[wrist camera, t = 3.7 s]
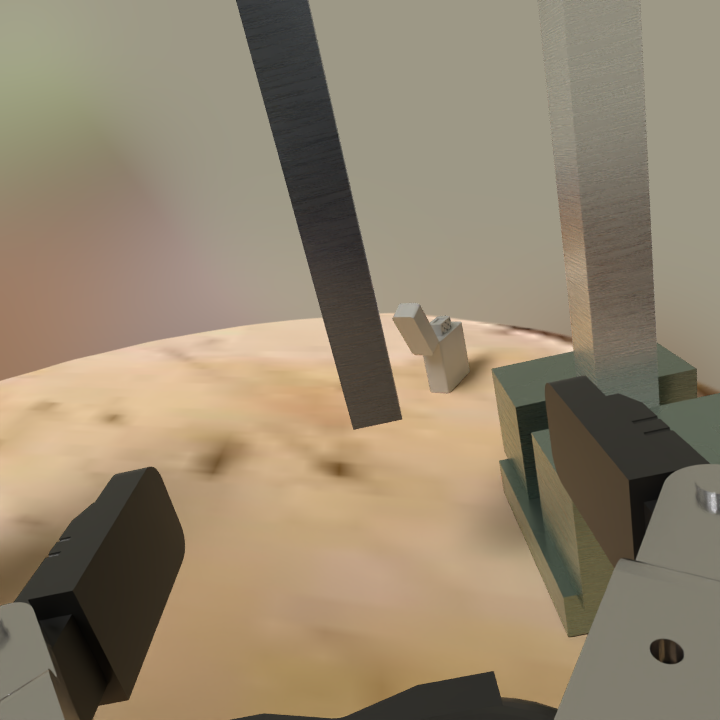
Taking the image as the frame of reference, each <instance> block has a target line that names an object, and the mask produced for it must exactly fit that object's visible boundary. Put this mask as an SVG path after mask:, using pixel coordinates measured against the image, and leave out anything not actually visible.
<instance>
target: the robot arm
mask: <svg viewBox="0 0 720 720" xmlns="http://www.w3.org/2000/svg"><path fill="white" fill-rule="evenodd" d="M545 401H546V409H547V417H548V425H549V433H550V441H551V449H552V456H553V461H554V464H555V468H556V471H557V474H558V476H559V479H560V481H561V483H562V485H563V486H564V488H565V490H566V491H567V493H568V494H569V496H570V498H571V499H572V501H573V503H574V504H575V506H576V507H577V509H578V511H579V512H580V514H581V515H582V517H583V519H584V520H585V522H586V523H587V525H588V527H589V528H590V530H591V532H592V533H593V535H594V536H595V538H596V540H597V541H598V543H599V544H600V546H601V548H602V549H603V551H604V553H605V554H606V556H607V557H608V559H609V561H610V562H611V564H612V565H613V567H614V571H613V574H612V576H611V579H610V581H609V584H608V586H607V588H606V591H605V593H604V596H603V598H602V601H601V603H600V606H599V608H598V611H597V613H596V616H595V618H594V621H593V623H592V626H591V628H590V631H589V633H588V636H587V638H586V641H585V643H584V646H583V648H582V651H581V653H580V656H579V658H578V661H577V663H576V666H575V668H574V671H573V673H572V676H571V678H570V681H569V683H568V686H567V688H566V691H565V693H564V696H563V698H562V701H561V703H560V706H559V708H558V709H556V708H553V707H550V706H547V705H543V704H540V703H537V702H532V701H527V700H522V699H516V698H504V697H501V696H500V693H499V689H498V685H497V682H496V678H495V674H494V671H492V672H486V673H481V674H475V675H470V676H465V677H459V678H454V679H448V680H443V681H438V682H432V683H427V684H421V685H417V686H415V687H412V688H410V689H408V690H405V691H403V692H401V693H399V694H396V695H394V696H392V697H389V698H387V699H385V700H382V701H380V702H378V703H376V704H373V705H371V706H369V707H366V708H364V709H362V710H360V711H357V712H355V713H353V714H350V715H348V716H345V717H342V718H333V719H331V718H318V717H304V716H290V715H277V714H259V715H253V716H248V717H242V718H237V719H232V720H720V465H719V464H710V463H709V462H708V461H707V460H706V459H705V458H704V457H702V456H701V455H700V454H699V453H698V452H697V451H696V450H695V449H693V448H692V447H691V446H690V445H689V444H688V443H687V442H686V441H685V440H683V439H682V438H681V437H680V436H679V435H678V434H677V433H676V432H675V431H673V430H670V427H669V426H668V425H667V424H666V423H665V422H663V421H662V420H661V419H658V417H657V415H656V414H655V413H653V412H652V411H651V410H650V409H649V408H648V407H647V406H646V405H645V404H643V403H642V402H640V401H637V400H635V399H632V398H629V397H627V396H624V395H622V394H619V393H617V394H613V395H608V396H606V395H605V394H604V393H603V392H602V391H601V390H600V389H599V388H598V387H597V386H596V385H595V384H594V383H593V382H592V381H591V380H590V379H589V378H588V377H586V376H585V375H583V376H578V377H573V378H569V379H564V380H559V381H554V382H550V383H546V385H545ZM59 540H60V542H57V543H56V544H55V545H54V547H53V548H52V550H51V551H50V552H49V557H47V558H45V559H44V561H43V562H42V564H41V565H40V566H39V568H38V569H37V571H36V572H35V573H34V575H33V576H32V577H31V579H30V580H29V582H28V583H27V584H26V586H25V587H24V589H23V590H22V591H21V593H20V594H19V596H18V597H17V598H16V600H15V601H14V603H9V604H5V605H2V606H0V720H94V719H93V717H94V715H95V712H96V710H97V708H98V706H100V705H105V704H110V703H116V702H121V701H126V700H129V698H130V695H131V693H132V690H133V688H134V685H135V682H136V680H137V677H138V675H139V672H140V669H141V667H142V664H143V662H144V659H145V657H146V654H147V651H148V649H149V646H150V644H151V641H152V639H153V636H154V633H155V631H156V628H157V626H158V623H159V621H160V618H161V615H162V613H163V610H164V608H165V605H166V602H167V600H168V597H169V595H170V592H171V590H172V587H173V584H174V582H175V579H176V577H177V574H178V572H179V569H180V566H181V564H182V561H183V558H184V553H185V540H184V534H183V530H182V527H181V524H180V522H179V519H178V517H177V514H176V512H175V510H174V507H173V505H172V502H171V500H170V497H169V495H168V492H167V490H166V487H165V485H164V482H163V480H162V478H161V475H160V474H159V472H158V471H157V470H156V469H155V468H154V467H147V468H142V469H138V470H133V471H128V472H124V473H119V474H115V475H114V476H113V477H112V478H111V480H110V481H109V483H108V484H107V486H106V487H105V488H104V490H103V491H102V493H101V494H100V496H99V497H98V499H97V500H96V501H95V503H93V504H91V505H90V506H89V507H88V508H87V509H85V510H84V511H83V512H82V513H81V514H80V515H78V516H77V517H76V518H75V519H74V520H72V522H71V523H70V524H69V526H68V527H67V529H66V530H65V531H64V533H63V534H62V536H61V537H60V538H59Z"/></svg>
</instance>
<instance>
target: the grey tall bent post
mask: <svg viewBox="0 0 720 720" xmlns="http://www.w3.org/2000/svg"><path fill="white" fill-rule="evenodd" d="M538 6H539V16H540V27H541V36H542V46H543V56H544V66H545V75H546V85H547V95H548V105H549V114H550V124H551V134H552V143H553V154H554V163H555V173H556V183H557V193H558V203H559V212H560V222H561V232H562V242H563V252H564V262H565V271H566V281H567V290H568V301H569V310H570V320H571V330H572V340H573V350H574V351H573V352H568V353H563V354H559V355H554V356H549V357H545V358H540V359H535V360H531V361H526V362H522V363H517V364H512V365H508V366H503V367H498V368H494V369H492V375H493V381H494V388H495V394H496V400H497V407H498V413H499V419H500V426H501V432H502V439H503V445H504V451H505V453H506V455H507V457H508V459H505V460H500V461H499V463H500V470H501V476H502V482H503V488H504V493H505V495H506V497H507V499H508V502H509V504H510V506H511V508H512V511H513V513H514V515H515V517H516V520H517V522H518V524H519V526H520V529H521V531H522V533H523V535H524V538H525V540H526V542H527V545H528V547H529V549H530V551H531V554H532V556H533V558H534V560H535V563H536V565H537V567H538V569H539V572H540V574H541V576H542V578H543V581H544V583H545V585H546V587H547V590H548V592H549V594H550V596H551V599H552V601H553V603H554V605H555V608H556V610H557V612H558V614H559V617H560V619H561V621H562V623H563V626H564V628H565V630H566V632H567V635H568V637H571V636H577V635H582V634H587V633H589V631H590V628H591V626H592V623H593V621H594V618H595V616H596V613H597V611H598V608H599V606H600V603H601V601H602V598H603V596H604V593H605V591H606V588H607V586H608V584H609V581H610V579H611V576H612V574H613V571H614V567H613V565H612V564H611V562H610V561H609V559H608V557H607V556H606V554H605V553H604V551H603V549H602V548H601V546H600V544H599V543H598V541H597V540H596V538H595V536H594V535H593V533H592V532H591V530H590V528H589V527H588V525H587V523H586V522H585V520H584V519H583V517H582V515H581V514H580V512H579V511H578V509H577V507H576V506H575V504H574V503H573V501H572V499H571V498H570V496H569V494H568V493H567V491H566V490H565V488H564V486H563V485H562V483H561V481H560V479H559V476H558V474H557V471H556V468H555V464H554V461H553V456H552V449H551V441H550V433H549V425H548V417H547V409H546V401H545V385H546V383H550V382H554V381H559V380H564V379H569V378H573V377H578V376H583V375H585V376H586V377H588V378H589V379H590V380H591V381H592V382H593V383H594V384H595V385H596V386H597V387H598V388H599V389H600V390H601V391H602V392H603V393H604V394H605V395H606V396H608V395H613V394H617V393H619V394H622V395H624V396H627V397H629V398H632V399H635V400H637V401H640V402H642V403H643V404H645V405H646V406H647V407H648V408H649V409H650V410H651V411H652V412H653V413H655V414H656V415H657V417H658V419H661V420H662V421H663V422H665V423H666V424H667V425H668V426H669V427H670V430H673V431H675V432H676V433H677V434H678V435H679V436H680V437H681V438H682V439H683V440H685V441H686V442H687V443H688V444H689V445H690V446H691V447H692V448H693V449H695V450H696V451H697V452H698V453H699V454H700V455H701V456H702V457H704V458H705V459H706V460H707V461H708V462H709V463H710V464H719V465H720V393H718V394H714V395H709V396H704V397H699V398H697V373H696V372H697V369H696V368H694V367H693V366H691V365H690V364H688V363H687V362H685V361H684V360H682V359H681V358H679V357H678V356H676V355H675V354H673V353H672V352H670V351H669V350H667V349H666V348H664V347H662V346H661V345H660V344H658V343H657V342H656V321H655V301H654V280H653V260H652V237H651V219H650V218H651V217H650V196H649V176H648V153H647V133H646V111H645V91H644V71H643V51H642V50H643V49H642V28H641V7H640V0H538Z"/></svg>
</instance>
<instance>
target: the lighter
mask: <svg viewBox="0 0 720 720" xmlns="http://www.w3.org/2000/svg"><path fill="white" fill-rule="evenodd" d="M392 319H393V321H394V323H395V325H396V326H397V328H398V330H399V331H400V333H401V335H402V336H403V338H404V340H405V342H406V343H407V345H408V347H409V348H410V350H411V352H412V354H414V355H423V357H424V362H425V367H426V372H427V377H428V382H429V387H430V391H431V392H435V393H450V392H451V391H452V390H453V389H454V388H455V387H456V386H457V385H458V384H459V383H460V381H461V380H462V379H463V378H464V377H465V376H466V375H467V374H468V373H469V372H470V368H469V362H468V357H467V351H466V345H465V339H464V334H463V328H462V322H451V320H450V317H449V316H439V317H436V318H435V319H434V320H433V321H431V322H430V323H429V321H428V319H427V317H426V315H425V313H424V312H423V310H422V308H421V306H420V305H419V304H418V303H407V304H400V305H399V306H398V308H397V311H396V312H395V314H394V316H393V318H392Z"/></svg>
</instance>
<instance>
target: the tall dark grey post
mask: <svg viewBox="0 0 720 720" xmlns="http://www.w3.org/2000/svg"><path fill="white" fill-rule="evenodd" d="M236 2H237V6H238V9H239V13H240V17H241V20H242V24H243V27H244V31H245V35H246V38H247V42H248V46H249V49H250V53H251V56H252V60H253V64H254V68H255V71H256V75H257V78H258V82H259V86H260V89H261V93H262V97H263V101H264V104H265V108H266V112H267V115H268V119H269V123H270V126H271V130H272V133H273V137H274V141H275V145H276V148H277V152H278V155H279V159H280V163H281V166H282V170H283V174H284V177H285V181H286V185H287V188H288V192H289V196H290V199H291V203H292V207H293V210H294V214H295V218H296V221H297V225H298V229H299V232H300V236H301V239H302V243H303V247H304V250H305V254H306V258H307V262H308V265H309V269H310V273H311V276H312V280H313V284H314V287H315V291H316V294H317V298H318V302H319V305H320V309H321V313H322V316H323V320H324V324H325V327H326V331H327V335H328V338H329V342H330V346H331V349H332V353H333V357H334V360H335V364H336V368H337V371H338V375H339V379H340V382H341V386H342V390H343V393H344V397H345V401H346V404H347V408H348V412H349V415H350V419H351V423H352V426H353V430H355V429H359V428H364V427H369V426H373V425H378V424H383V423H388V422H392V421H397V420H402V416H401V411H400V406H399V401H398V396H397V391H396V387H395V382H394V378H393V373H392V369H391V364H390V360H389V356H388V351H387V347H386V342H385V338H384V333H383V329H382V325H381V320H380V316H379V311H378V307H377V302H376V298H375V293H374V290H373V285H372V280H371V276H370V271H369V267H368V263H367V258H366V254H365V249H364V245H363V240H362V236H361V231H360V227H359V222H358V218H357V214H356V210H355V205H354V200H353V196H352V191H351V187H350V182H349V178H348V174H347V169H346V165H345V161H344V156H343V151H342V147H341V142H340V138H339V134H338V130H337V125H336V121H335V116H334V111H333V107H332V103H331V98H330V94H329V89H328V85H327V80H326V76H325V72H324V67H323V63H322V59H321V54H320V49H319V45H318V40H317V36H316V32H315V27H314V23H313V18H312V14H311V10H310V5H309V0H236Z"/></svg>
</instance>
